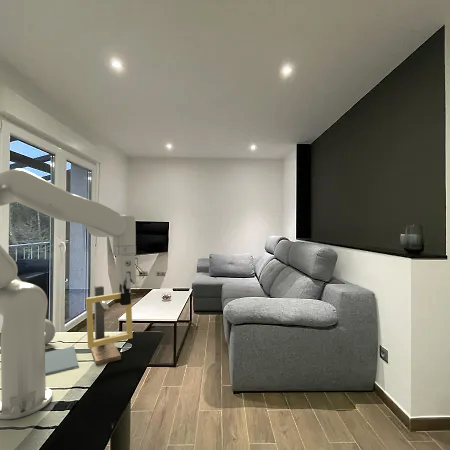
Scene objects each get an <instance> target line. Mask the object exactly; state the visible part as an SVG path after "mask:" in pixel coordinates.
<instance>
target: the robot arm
mask: <svg viewBox="0 0 450 450" xmlns="http://www.w3.org/2000/svg"><path fill="white" fill-rule="evenodd" d="M13 203H18V204H20V205H22V206H25V207H27V208H30V209H32V210H34V211H37V212H38V213H41V214H44V215H46V216H49V218H53V219H55V220H59V221H63V222H69V223H76V224H81V225H85V229H86V231H87V232H88V233H89V235H91V236H94V237H99V238H112V256H113V257H115V280H116V282H117V283H118V285H119V287H118V291H119V292H118V293H121V298H120V299H118V301H119V302H118V303H119V304H120V306H126V305H129V304H131V305H132V291H131V289H132V286H131V285H132V284H133V285H135V284H136V283H137V274H136V261H135V260H136V259H135V256H136V255H137V245H136V244H137V243H136V241H137V239H136V237H137V235H136V234H137V233H136V217H135V216H134V215H131V214H120V213H119V212H117V211H115V210H114V209H112V208H110V207H108V206H106V205H104V204H103V203H100V202H97V201H95V200H91V199H88V198H85V197H84V196H80V195H77V194H74V193H71V192H70V191H67V190H65V189H64V188H62V187H59V186H58V185H56V184H53V183H52V182H50V181H48V180H45V179H44V178H42V177H41V176H39V175H36V174H35V173H33V172H30V171H28V170H25V169H22V168H12V169H9V170H5V171H3V172H0V207H2V206H5V205H9V204H13ZM18 272H19V271H18V265H17V263H16V261H15V260H14V258H13V257H12V256H11V255H10V254H9V253H8V251H6V250H5V248H4V247H3V246H2V245H1V244H0V315H1V316H2V326H1V330H0V331H1V332H0V371H1V372H0V373H1V374H0V376H1V377H0V378H1V379H0V380H1V387H0V389H1V399H0V420H13V419H14V420H15V419H19V418H24V417H26V416H29V415H31V414H34V413H36V412H39V411H40V410H41V409H43V408H44V407H46V406H47V405H48V404H50V402H51V400H53V390H52V389H51V388H49V387H47V385H46V384H47V383H46V375H45V352H46V344H45V319H47V318H46V317H47V311H48V298H47V297H48V296H47V294H46V292H45V290H43V288H41V287H40V286H38V285H36V284H33V283H30V282H27V281H23V280H21V278H20V277H19V276H18Z"/></svg>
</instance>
